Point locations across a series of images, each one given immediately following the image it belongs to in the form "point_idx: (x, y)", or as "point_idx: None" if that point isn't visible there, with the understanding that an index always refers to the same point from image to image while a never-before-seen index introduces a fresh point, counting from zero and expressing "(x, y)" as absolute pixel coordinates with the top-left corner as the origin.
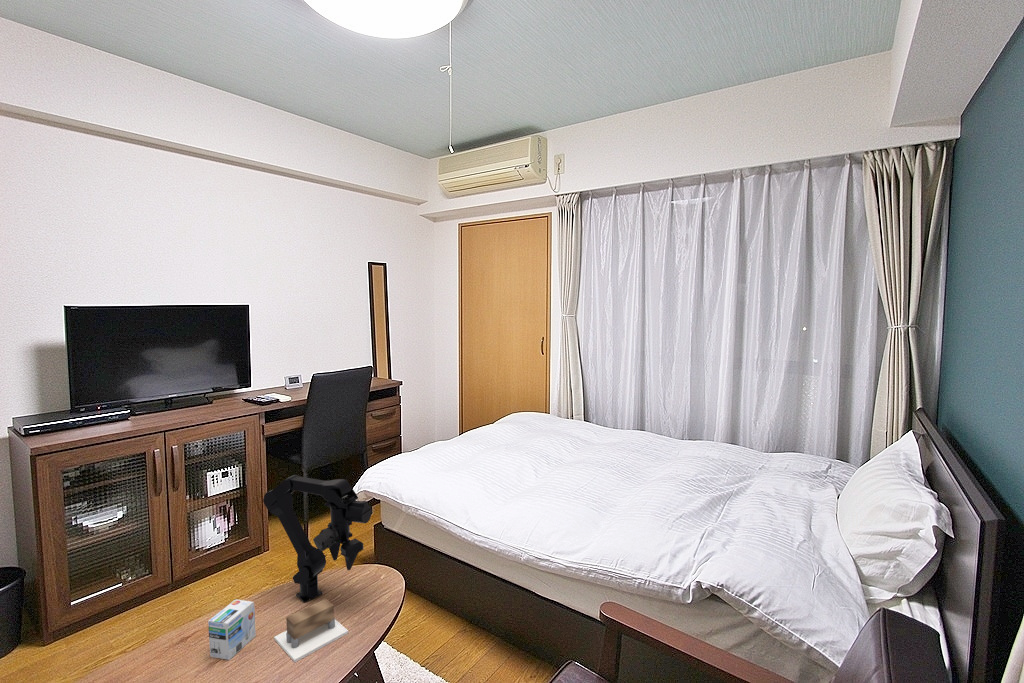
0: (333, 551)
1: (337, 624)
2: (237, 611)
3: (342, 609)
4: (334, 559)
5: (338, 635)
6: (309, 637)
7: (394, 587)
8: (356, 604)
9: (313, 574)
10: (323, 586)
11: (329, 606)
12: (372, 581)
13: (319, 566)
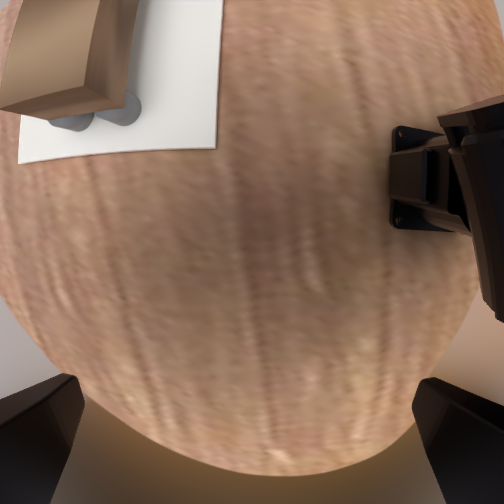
0: (488, 455)
1: (74, 143)
2: None
3: (183, 226)
4: (425, 392)
5: (21, 121)
6: None
7: (172, 443)
8: (169, 295)
9: (455, 151)
10: (438, 263)
11: (6, 84)
12: (283, 423)
13: (494, 235)
